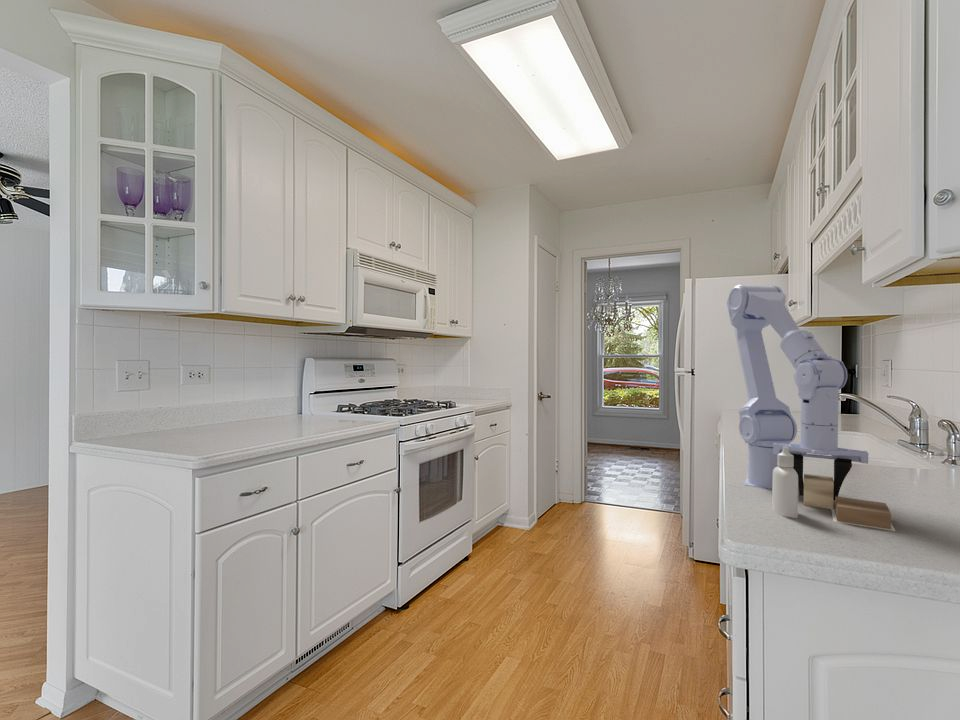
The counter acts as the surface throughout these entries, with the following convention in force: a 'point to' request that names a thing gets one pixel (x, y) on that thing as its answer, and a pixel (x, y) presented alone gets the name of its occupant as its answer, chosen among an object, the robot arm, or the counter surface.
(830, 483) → the beech block
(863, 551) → the counter surface
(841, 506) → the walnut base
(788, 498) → the eye dropper bottle
